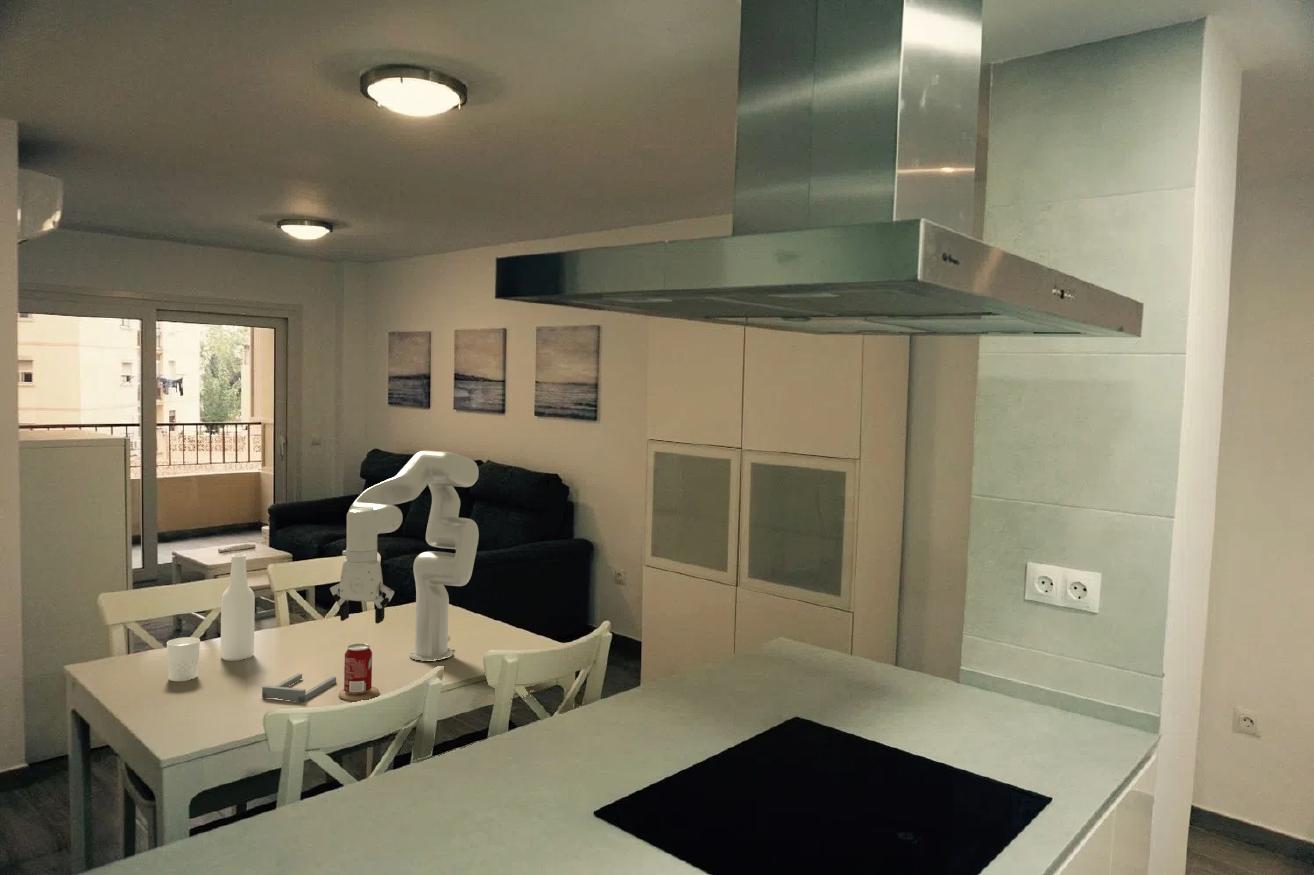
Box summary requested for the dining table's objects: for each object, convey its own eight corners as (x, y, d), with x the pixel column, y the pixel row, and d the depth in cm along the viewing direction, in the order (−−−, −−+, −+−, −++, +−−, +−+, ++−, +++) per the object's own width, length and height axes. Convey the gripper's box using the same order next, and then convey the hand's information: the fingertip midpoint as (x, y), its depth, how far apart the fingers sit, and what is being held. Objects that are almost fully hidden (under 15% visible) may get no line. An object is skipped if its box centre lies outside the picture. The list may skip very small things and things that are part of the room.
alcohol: (213, 659, 249) (214, 556, 247) (235, 651, 257) (237, 551, 256) (238, 662, 246) (240, 559, 245) (260, 654, 255) (262, 554, 253)
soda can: (366, 696, 221) (367, 650, 220) (340, 695, 221) (340, 649, 220) (374, 688, 228) (375, 643, 227) (349, 687, 228) (350, 642, 227)
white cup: (165, 683, 227) (166, 646, 226) (166, 675, 234) (167, 638, 233) (199, 680, 231) (199, 643, 230) (199, 671, 237) (200, 635, 237)
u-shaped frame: (298, 678, 234) (298, 667, 234) (336, 682, 233) (336, 671, 233) (262, 698, 219) (262, 686, 219) (302, 702, 217) (302, 690, 217)
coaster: (350, 686, 230) (350, 684, 230) (385, 689, 228) (385, 687, 228) (330, 699, 220) (330, 696, 220) (367, 702, 218) (367, 700, 218)
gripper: (323, 557, 220) (323, 622, 222) (386, 561, 218) (386, 627, 219) (338, 551, 228) (338, 614, 229) (400, 555, 225) (399, 619, 226)
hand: (362, 620), depth 224 cm, fingers open, 9 cm apart
